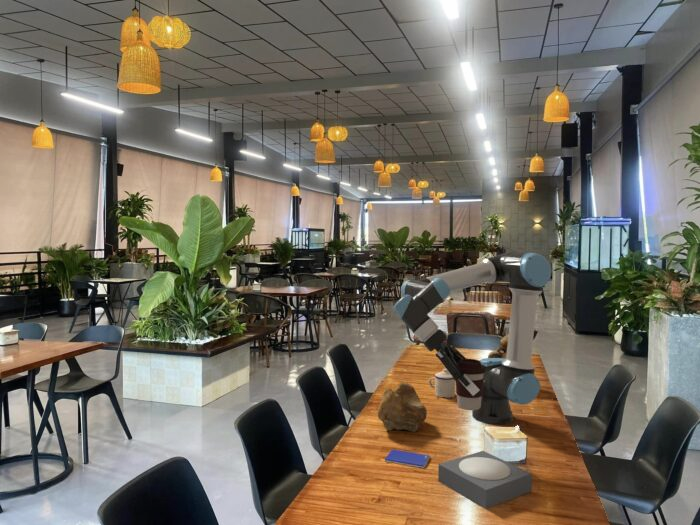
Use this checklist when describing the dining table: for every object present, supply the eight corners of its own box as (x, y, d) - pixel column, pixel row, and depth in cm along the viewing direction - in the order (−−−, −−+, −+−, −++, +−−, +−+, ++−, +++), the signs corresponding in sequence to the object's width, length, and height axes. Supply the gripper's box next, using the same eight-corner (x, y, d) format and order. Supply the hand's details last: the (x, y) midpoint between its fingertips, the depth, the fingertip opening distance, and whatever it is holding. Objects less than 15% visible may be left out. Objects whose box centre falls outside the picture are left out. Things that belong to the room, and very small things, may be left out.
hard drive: (430, 454, 166) (392, 448, 171) (423, 465, 159) (384, 458, 163) (429, 459, 166) (392, 453, 171) (423, 470, 159) (384, 463, 164)
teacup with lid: (457, 394, 234) (458, 368, 233) (451, 399, 226) (452, 373, 225) (432, 390, 239) (432, 365, 239) (425, 395, 231) (425, 369, 231)
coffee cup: (447, 406, 169) (447, 360, 168) (464, 400, 176) (465, 356, 175) (474, 414, 162) (474, 366, 161) (490, 407, 169) (491, 361, 168)
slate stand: (482, 466, 160) (482, 449, 160) (531, 491, 145) (531, 472, 145) (438, 481, 151) (438, 463, 150) (485, 508, 135) (486, 488, 135)
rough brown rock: (413, 444, 179) (418, 401, 178) (369, 431, 187) (374, 390, 186) (435, 425, 200) (439, 386, 199) (394, 414, 207) (398, 377, 206)
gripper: (431, 336, 184) (476, 386, 179) (413, 349, 163) (464, 406, 158) (446, 322, 182) (492, 372, 176) (430, 334, 161) (482, 390, 156)
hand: (479, 388), depth 167 cm, fingers closed on coffee cup, 10 cm apart
